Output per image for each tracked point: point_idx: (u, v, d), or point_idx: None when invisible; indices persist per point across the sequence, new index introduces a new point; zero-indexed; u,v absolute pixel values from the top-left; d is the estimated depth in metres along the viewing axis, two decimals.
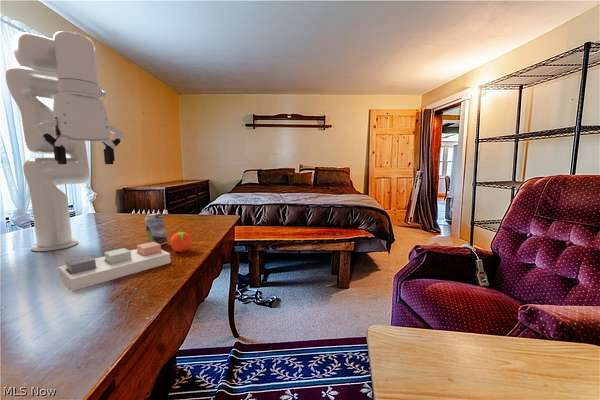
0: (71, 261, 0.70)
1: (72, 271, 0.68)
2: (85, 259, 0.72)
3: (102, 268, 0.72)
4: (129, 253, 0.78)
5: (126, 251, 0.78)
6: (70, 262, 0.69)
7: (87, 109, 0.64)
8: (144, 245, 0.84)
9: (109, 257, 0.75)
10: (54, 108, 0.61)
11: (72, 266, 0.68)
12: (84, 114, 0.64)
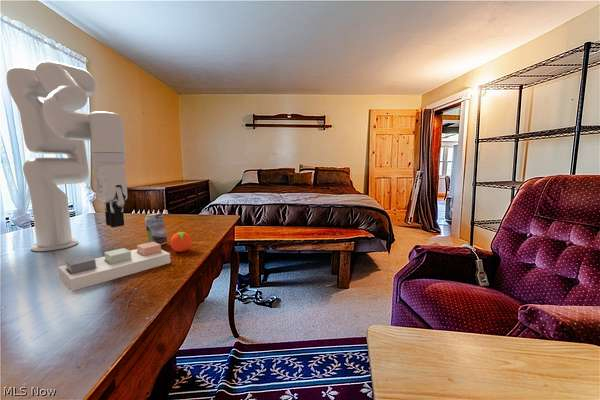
0: (71, 261, 0.70)
1: (72, 271, 0.68)
2: (85, 259, 0.72)
3: (102, 268, 0.72)
4: (129, 253, 0.78)
5: (126, 251, 0.78)
6: (70, 262, 0.69)
7: None
8: (144, 245, 0.84)
9: (109, 257, 0.75)
10: (115, 177, 0.71)
11: (72, 266, 0.68)
12: None
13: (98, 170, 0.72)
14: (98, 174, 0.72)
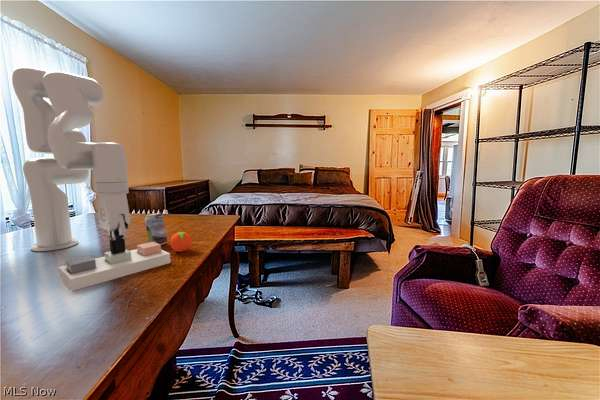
0: (71, 261, 0.70)
1: (72, 271, 0.68)
2: (85, 259, 0.72)
3: (102, 268, 0.72)
4: (129, 253, 0.78)
5: (126, 251, 0.78)
6: (70, 262, 0.69)
7: None
8: (144, 245, 0.84)
9: (109, 257, 0.75)
10: (118, 206, 0.72)
11: (72, 266, 0.68)
12: None
13: (101, 199, 0.73)
14: (101, 203, 0.73)
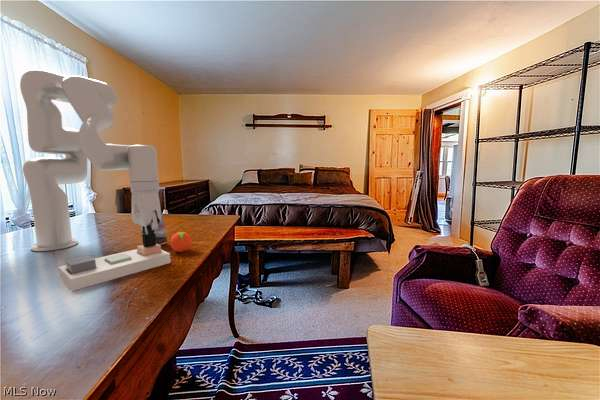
0: (71, 261, 0.70)
1: (72, 271, 0.68)
2: (85, 259, 0.72)
3: (102, 268, 0.72)
4: (129, 258, 0.78)
5: (126, 256, 0.78)
6: (70, 262, 0.69)
7: None
8: None
9: (109, 262, 0.75)
10: (151, 203, 0.79)
11: (72, 266, 0.68)
12: None
13: (135, 197, 0.80)
14: (135, 200, 0.80)
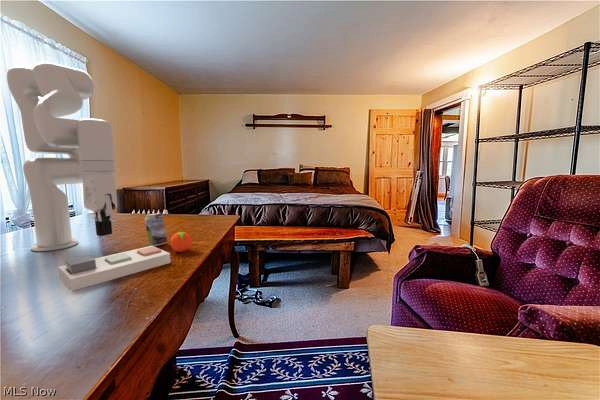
0: (71, 261, 0.70)
1: (72, 271, 0.68)
2: (85, 259, 0.72)
3: (102, 268, 0.72)
4: (129, 258, 0.78)
5: (126, 256, 0.78)
6: (70, 262, 0.69)
7: None
8: (144, 250, 0.84)
9: (109, 262, 0.75)
10: (104, 186, 0.69)
11: (72, 266, 0.68)
12: None
13: (86, 178, 0.70)
14: (86, 183, 0.71)
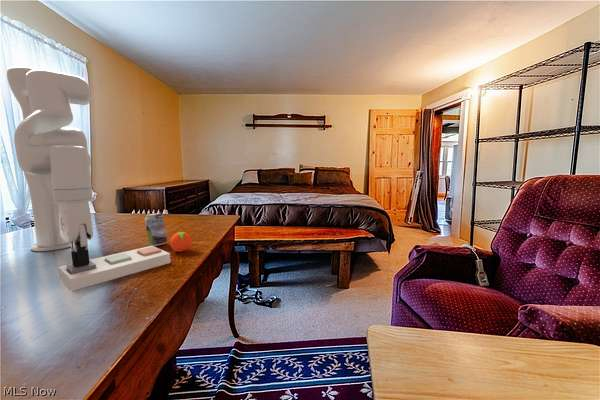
0: (72, 266, 0.70)
1: None
2: None
3: (102, 268, 0.72)
4: (129, 258, 0.78)
5: (126, 256, 0.78)
6: (71, 267, 0.70)
7: None
8: (144, 250, 0.84)
9: (109, 262, 0.75)
10: (78, 216, 0.66)
11: (73, 271, 0.68)
12: None
13: (60, 208, 0.67)
14: (60, 212, 0.67)
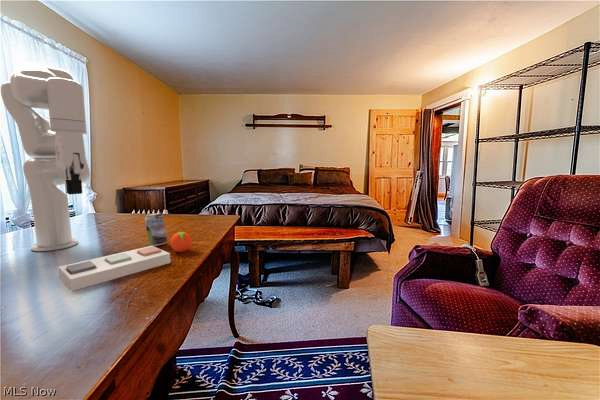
0: (72, 267, 0.70)
1: None
2: (86, 265, 0.72)
3: (102, 268, 0.72)
4: (129, 258, 0.78)
5: (126, 256, 0.78)
6: (71, 268, 0.70)
7: None
8: (144, 250, 0.84)
9: (109, 262, 0.75)
10: (72, 145, 0.72)
11: (73, 272, 0.68)
12: None
13: (56, 137, 0.73)
14: (56, 141, 0.73)
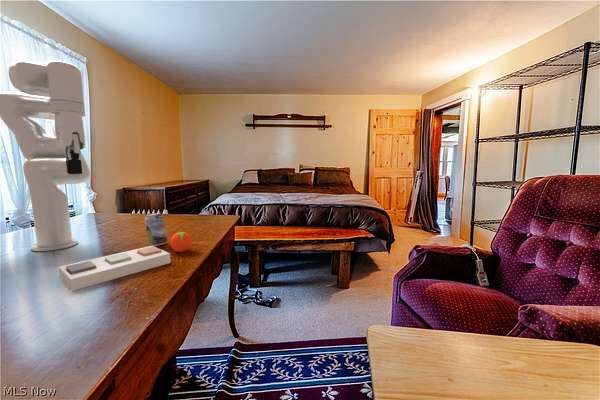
0: (72, 267, 0.70)
1: None
2: (86, 265, 0.72)
3: (102, 268, 0.72)
4: (129, 258, 0.78)
5: (126, 256, 0.78)
6: (71, 268, 0.70)
7: None
8: (144, 250, 0.84)
9: (109, 262, 0.75)
10: (71, 124, 0.75)
11: (73, 272, 0.68)
12: None
13: (56, 118, 0.76)
14: (56, 122, 0.76)
